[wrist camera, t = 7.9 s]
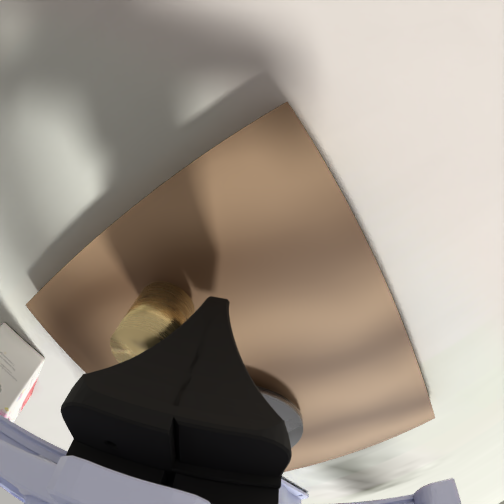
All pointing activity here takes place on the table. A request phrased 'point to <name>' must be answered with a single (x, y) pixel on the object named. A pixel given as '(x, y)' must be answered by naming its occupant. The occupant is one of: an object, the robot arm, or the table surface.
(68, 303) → the board
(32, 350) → the ink cartridge box
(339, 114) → the table surface
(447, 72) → the table surface
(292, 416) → the crank handle
